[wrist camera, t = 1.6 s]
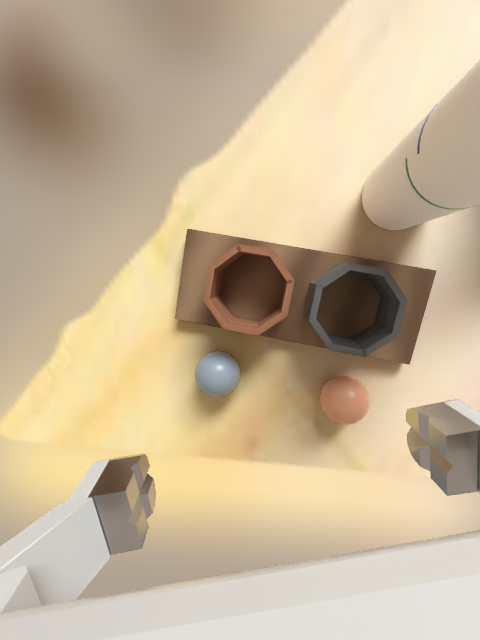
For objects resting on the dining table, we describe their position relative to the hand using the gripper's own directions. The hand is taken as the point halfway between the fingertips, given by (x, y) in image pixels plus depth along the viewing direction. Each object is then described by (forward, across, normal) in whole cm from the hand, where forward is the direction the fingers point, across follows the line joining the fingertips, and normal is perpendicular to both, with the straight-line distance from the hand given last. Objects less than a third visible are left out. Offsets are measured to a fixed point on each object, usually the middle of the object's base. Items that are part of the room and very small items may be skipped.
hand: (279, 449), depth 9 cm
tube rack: (+25, +6, +1) cm, 26 cm away
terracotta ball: (+21, +9, -11) cm, 26 cm away
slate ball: (+24, -4, -6) cm, 25 cm away
